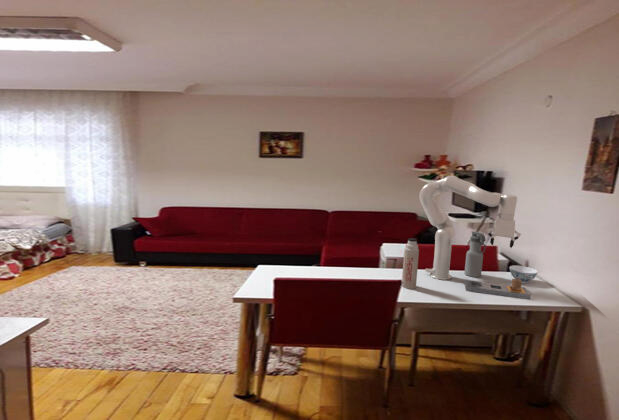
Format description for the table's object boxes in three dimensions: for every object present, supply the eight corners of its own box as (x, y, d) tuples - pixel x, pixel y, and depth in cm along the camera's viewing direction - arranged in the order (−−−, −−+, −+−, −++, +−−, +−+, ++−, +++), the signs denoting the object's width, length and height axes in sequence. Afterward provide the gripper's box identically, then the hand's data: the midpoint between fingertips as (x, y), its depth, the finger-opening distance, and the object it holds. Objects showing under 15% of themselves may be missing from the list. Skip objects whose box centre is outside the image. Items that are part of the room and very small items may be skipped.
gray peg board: (465, 290, 204) (466, 286, 204) (464, 283, 216) (464, 279, 215) (530, 299, 195) (530, 294, 194) (524, 291, 206) (525, 287, 206)
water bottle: (484, 276, 230) (489, 233, 226) (474, 278, 226) (478, 234, 221) (471, 271, 239) (475, 230, 235) (460, 273, 235) (465, 231, 230)
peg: (511, 294, 201) (513, 280, 200) (510, 292, 205) (512, 278, 203) (519, 295, 200) (521, 281, 198) (518, 293, 203) (520, 279, 202)
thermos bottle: (411, 290, 202) (415, 241, 198) (399, 286, 208) (402, 238, 203) (418, 286, 208) (422, 239, 204) (405, 283, 213) (409, 236, 209)
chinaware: (534, 287, 214) (536, 274, 212) (506, 281, 222) (507, 269, 221) (537, 281, 225) (539, 269, 224) (510, 275, 234) (511, 264, 233)
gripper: (490, 215, 203) (485, 245, 206) (525, 219, 198) (519, 249, 201) (488, 213, 210) (483, 242, 213) (522, 217, 205) (516, 246, 208)
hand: (501, 245), depth 207 cm, fingers open, 9 cm apart
